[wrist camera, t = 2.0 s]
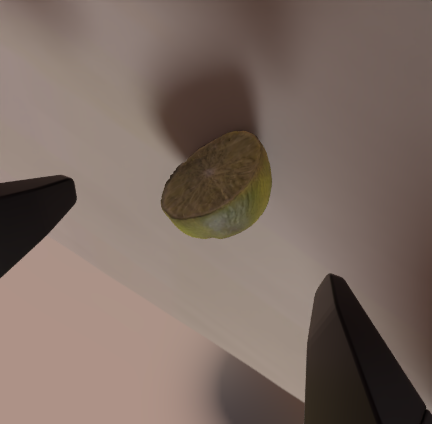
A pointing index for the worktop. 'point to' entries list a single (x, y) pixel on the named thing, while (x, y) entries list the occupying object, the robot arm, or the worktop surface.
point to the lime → (219, 187)
